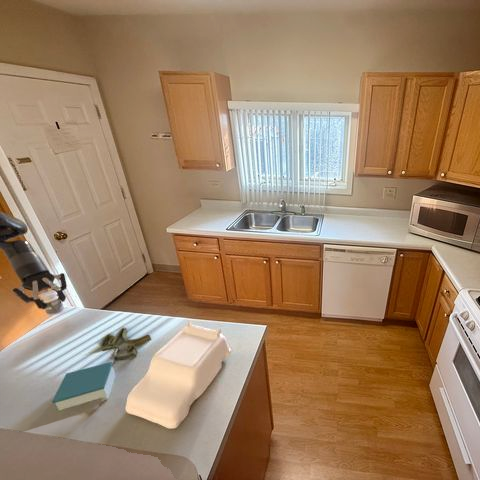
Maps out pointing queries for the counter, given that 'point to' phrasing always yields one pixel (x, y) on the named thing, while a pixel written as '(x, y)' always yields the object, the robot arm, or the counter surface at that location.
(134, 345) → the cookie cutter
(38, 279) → the robot arm
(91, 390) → the teal book
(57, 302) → the pill bottle
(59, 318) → the counter surface
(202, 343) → the white toy car
